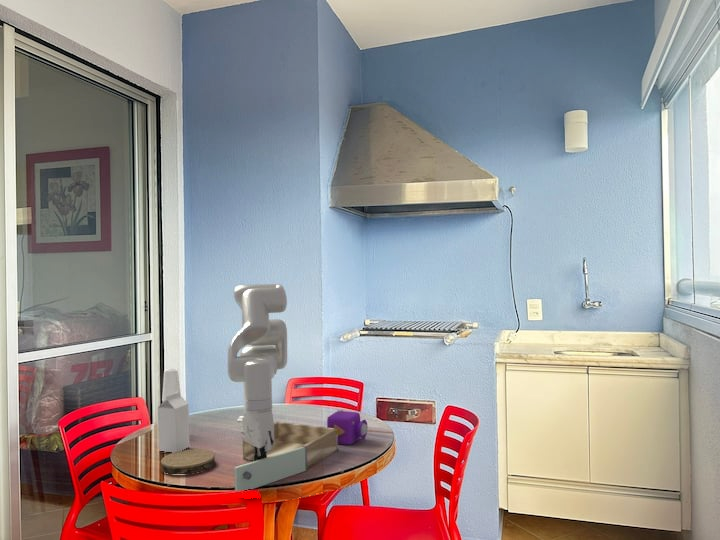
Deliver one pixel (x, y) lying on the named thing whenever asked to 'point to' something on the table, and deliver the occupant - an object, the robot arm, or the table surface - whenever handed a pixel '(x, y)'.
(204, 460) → the brown round disc
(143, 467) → the table surface
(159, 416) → the milk carton
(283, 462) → the door
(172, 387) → the grey tall block
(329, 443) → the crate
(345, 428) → the toy camera
